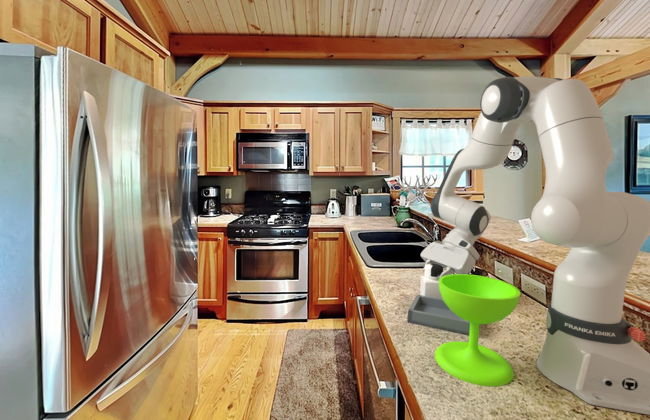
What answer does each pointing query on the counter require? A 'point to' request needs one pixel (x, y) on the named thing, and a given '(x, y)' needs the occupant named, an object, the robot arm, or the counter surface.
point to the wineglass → (476, 327)
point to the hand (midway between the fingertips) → (432, 275)
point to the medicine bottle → (431, 281)
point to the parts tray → (436, 315)
